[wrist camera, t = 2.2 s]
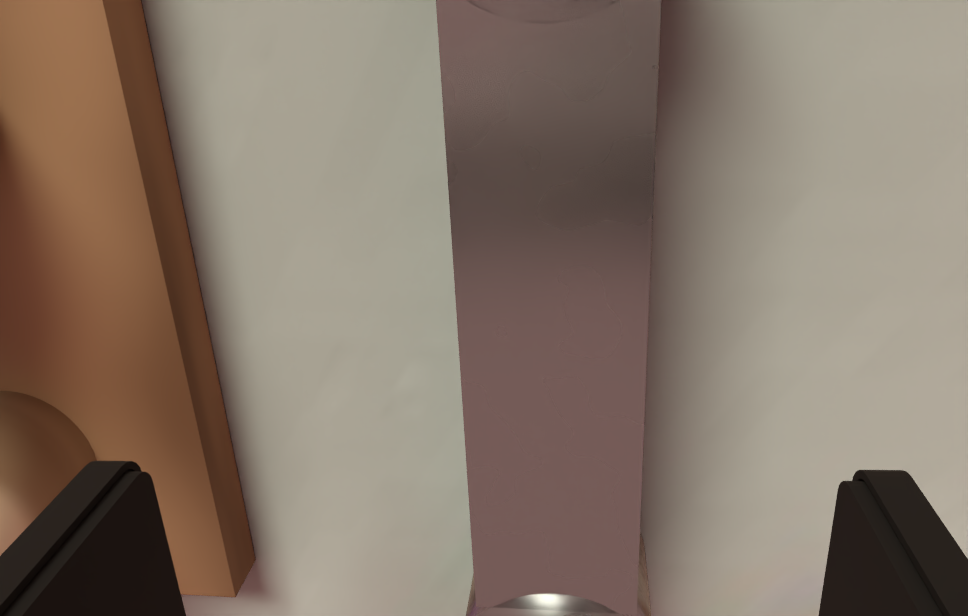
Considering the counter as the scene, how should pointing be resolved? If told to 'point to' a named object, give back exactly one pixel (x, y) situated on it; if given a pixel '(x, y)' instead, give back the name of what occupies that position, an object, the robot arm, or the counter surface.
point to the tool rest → (104, 289)
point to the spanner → (552, 292)
